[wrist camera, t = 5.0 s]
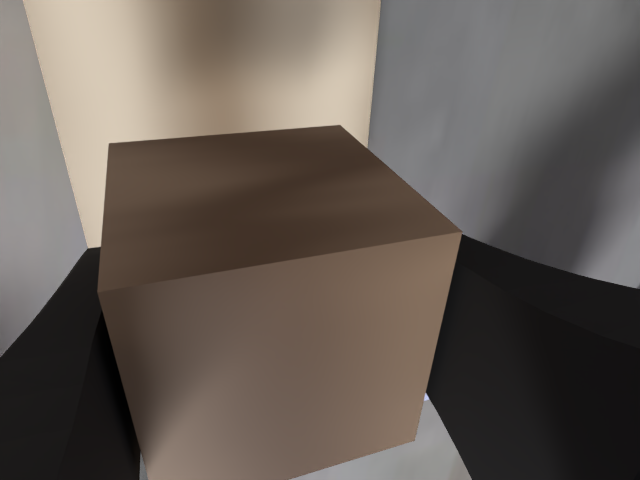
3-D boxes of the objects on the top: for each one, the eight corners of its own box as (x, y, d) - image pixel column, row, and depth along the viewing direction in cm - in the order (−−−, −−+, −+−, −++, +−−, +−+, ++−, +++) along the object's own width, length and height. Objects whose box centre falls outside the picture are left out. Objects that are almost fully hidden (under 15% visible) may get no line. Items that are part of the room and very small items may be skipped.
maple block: (348, -59, 16) (386, -59, 14) (333, 198, 22) (359, 230, 19) (24, -75, 13) (2, -78, 11) (98, 228, 19) (94, 270, 16)
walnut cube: (340, 124, 11) (462, 231, 7) (330, 293, 14) (414, 440, 10) (108, 143, 9) (96, 292, 6) (148, 328, 12) (159, 519, 8)
